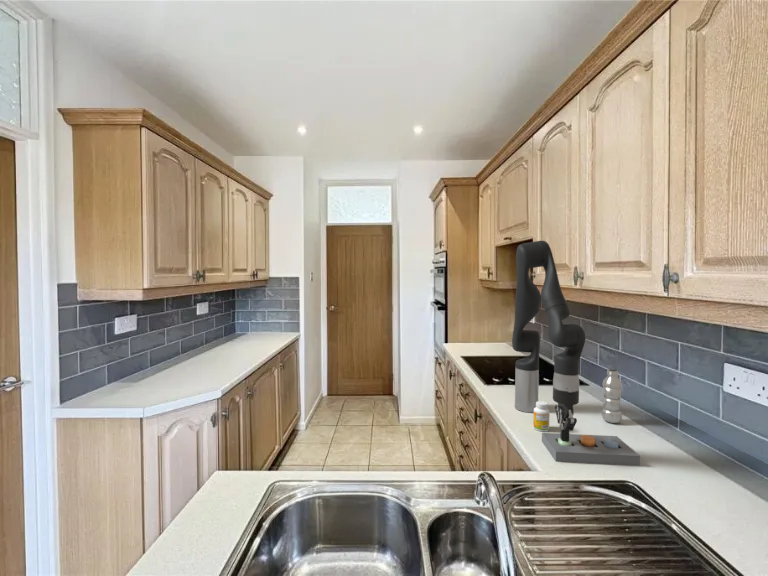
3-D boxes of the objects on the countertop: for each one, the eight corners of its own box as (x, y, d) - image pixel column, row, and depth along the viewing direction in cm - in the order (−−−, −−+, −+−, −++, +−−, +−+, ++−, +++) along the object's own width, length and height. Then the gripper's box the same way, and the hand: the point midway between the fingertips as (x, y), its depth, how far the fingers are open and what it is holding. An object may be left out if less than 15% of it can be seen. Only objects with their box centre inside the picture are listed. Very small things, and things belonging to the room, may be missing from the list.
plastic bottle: (616, 426, 144) (618, 373, 143) (598, 420, 149) (599, 369, 149) (625, 423, 147) (626, 371, 147) (606, 417, 153) (608, 367, 152)
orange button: (578, 441, 125) (578, 434, 125) (591, 442, 124) (591, 435, 124) (583, 447, 121) (583, 439, 121) (597, 447, 120) (597, 440, 120)
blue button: (601, 446, 124) (601, 439, 124) (614, 447, 124) (614, 440, 124) (607, 452, 120) (607, 445, 120) (620, 453, 120) (620, 445, 120)
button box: (541, 441, 131) (541, 432, 131) (616, 444, 128) (616, 436, 128) (555, 461, 117) (555, 451, 117) (639, 465, 115) (640, 455, 114)
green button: (556, 444, 126) (556, 437, 126) (568, 445, 125) (569, 438, 125) (560, 450, 122) (560, 442, 122) (573, 450, 121) (573, 443, 121)
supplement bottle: (536, 424, 145) (536, 399, 145) (551, 428, 142) (551, 402, 142) (531, 429, 141) (531, 403, 141) (546, 433, 138) (547, 406, 137)
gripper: (547, 380, 130) (546, 431, 130) (560, 392, 116) (559, 449, 117) (570, 381, 129) (569, 432, 129) (586, 393, 116) (585, 450, 116)
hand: (564, 440), depth 123 cm, fingers closed
